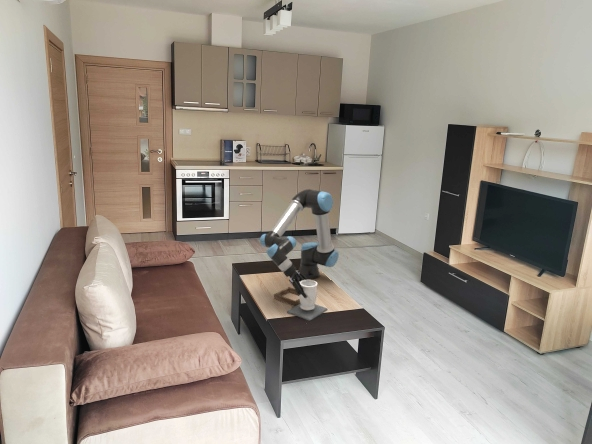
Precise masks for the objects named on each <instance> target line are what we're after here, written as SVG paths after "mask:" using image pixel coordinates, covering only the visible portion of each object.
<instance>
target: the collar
mask: <svg viewBox="0 0 592 444" xmlns="http://www.w3.org/2000/svg"><path fill="white" fill-rule="evenodd" d="M289 293H290V294H293V295H296V296H299V294H298V293H297V291H296V290H295V288H294V287H291V286H288V287H286V288H284V289H282V290H279V291H278V292H275V293H274V294H273V300H275V301H277V302H278V301H279V302H282V303H284V304H287V305H290V306H292V307H295V306H296V305H298V304H300V298H297V299H296V300H294V299H291V298H289V297H286V296H285V295H287V294H289ZM284 296H285V297H284Z"/></svg>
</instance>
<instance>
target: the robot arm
mask: <svg viewBox="0 0 592 444" xmlns="http://www.w3.org/2000/svg"><path fill="white" fill-rule="evenodd" d="M333 205H334V199H333V197H332V194H331V193H329V192H326V191H320V190H314V189H310V188H308V189H302V190H301V191H299V192H298V193H297V194H295V195H294V196H293V197H292V199H291V200H290V202H289V205H288V207H287V208H286V209H285V210H284V212H283V213H282V214H281V216H280V217H279V219H278V220H277V221H276V222H275V223H274V225H273V226H272V228H271V229H270V231H269V232H268V233H263V234H262V235H261V236H260V237H259V243H260V245H261V246H262V247H265V248H267V249H266V254H267V255H268V257H269V259H271V261H272V262H273V263H274V264H275V265H276V266H277V267H278V269H279V270H280V271H281V272H282V273H283V274H284V276H285V277H286V278H290V279H289V280H288V281H289V282H290V284H291V285H292V288H294V289H295V290H296V291H297V293H298V294H299V295H302V296H303V297H304V298H305V299H306V300H307V302H308V303H309V302H311V301H312V299H311V297H310V296H309V295H308V294H307V293H306V292H305V291H304V290H303V288H302V286H301V284H300V281H302V280H314V279H318V278H319V277H320V269H319V266H318V265H320V266H324V267H328V268H333V267H334V266H335V265H336V264H337V262H338V259H339V255H340V254H339V251H337V250H335V246H334V244H333V243H332V238H331V237H332V236H331V228H330V220H329V219H330V217H329V213H330V212H331V210H332V209H333ZM305 208H307V209H311V214H312V215H314V220H315V226H316V236H317V242H313V241H311V242H310V241H309V242H305V243H303V244H301V248H300V265H299V267H298V270H297V267H296V266H295V264H293V262H292V261H291V260H290V259H289V257H288V256H287V255H288V254H289V253H291V252H292V250H294V248H296V247H297V240H296V239H295V238H294V237H293V236H289V235H288V236H286V237H285V238H282V236H283V235H284V233H285V232H286V231H287V229H288V228H289V226H290V225H291V224H292V223H293V221H294V220H295V218H296V217H297V216H298V214H299V213H300V212H302V211H303V210H304V209H305ZM310 286H311V285H310ZM299 295H298V296H299Z"/></svg>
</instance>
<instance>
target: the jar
mask: <svg viewBox="0 0 592 444" xmlns="http://www.w3.org/2000/svg"><path fill="white" fill-rule="evenodd" d="M299 282H300V284H301V286H302V288H303V290H304V291H305V292H306V293H307V294H308V295H309V296H310V297H311V299H312V301H311V302H309V303H308V302H307V300H306V299H305V298H304V297H303V296H302V295H298V297H299V298H300V303H301V305H300V308H301V309H303V310H312V309H314V308H315V306H314V304H316V301H317V297H318V282H317V281H315V280H314V279H308V280H302V281H299ZM310 285H311V286H310ZM299 298H298V299H299Z"/></svg>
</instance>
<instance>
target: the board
mask: <svg viewBox="0 0 592 444" xmlns="http://www.w3.org/2000/svg"><path fill="white" fill-rule="evenodd" d="M300 305H301V303H300V304H298V305H296V306H292V307H291V308H289V309H287V310H286V313H287V314H291V315H292V316H296V317H299V318H300V319H303V320H306V321H309V322H310V321H312V320H314V319H315V318H317V317H319V316H321V315H322V314H323V313H325V312H326V311H328V307H324V306H321V305H319V304H316V303H315V304H314V306H315V308H314V309H312V310H303V309H301V308H300Z"/></svg>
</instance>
